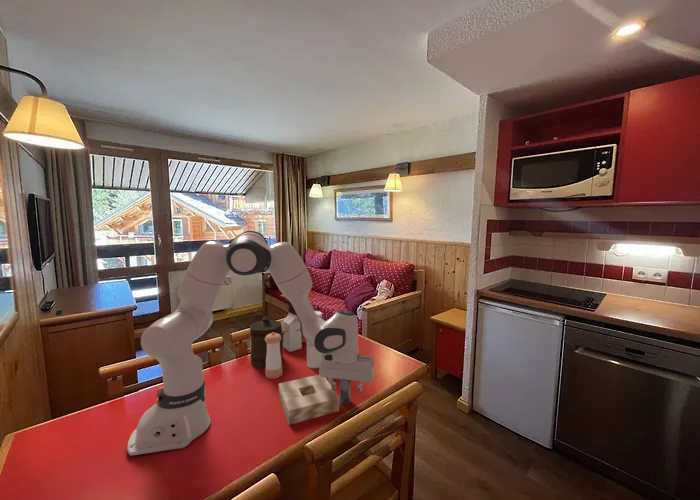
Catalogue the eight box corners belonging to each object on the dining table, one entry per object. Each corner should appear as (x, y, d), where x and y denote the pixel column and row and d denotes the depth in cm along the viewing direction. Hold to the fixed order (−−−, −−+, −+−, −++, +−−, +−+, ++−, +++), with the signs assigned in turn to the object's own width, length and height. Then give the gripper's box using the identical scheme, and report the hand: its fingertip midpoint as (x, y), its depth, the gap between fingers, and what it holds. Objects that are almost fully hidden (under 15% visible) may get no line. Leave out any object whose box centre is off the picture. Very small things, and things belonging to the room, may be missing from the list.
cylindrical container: (325, 364, 140) (325, 312, 138) (315, 370, 134) (315, 316, 132) (313, 360, 144) (313, 310, 142) (303, 366, 138) (303, 314, 136)
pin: (342, 406, 108) (342, 380, 107) (338, 400, 112) (338, 375, 111) (352, 403, 110) (352, 378, 109) (347, 397, 113) (348, 372, 112)
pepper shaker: (285, 374, 131) (284, 332, 129) (271, 380, 125) (270, 337, 123) (275, 368, 136) (274, 328, 134) (262, 375, 130) (260, 332, 128)
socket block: (289, 424, 98) (288, 410, 98) (278, 395, 115) (278, 383, 114) (339, 410, 105) (339, 397, 105) (323, 385, 122) (322, 373, 121)
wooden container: (264, 352, 153) (263, 310, 150) (288, 357, 147) (287, 314, 145) (243, 365, 139) (242, 319, 137) (269, 371, 133) (268, 324, 131)
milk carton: (289, 352, 152) (289, 316, 150) (283, 348, 157) (282, 313, 155) (301, 349, 156) (301, 314, 154) (295, 344, 162) (294, 311, 160)
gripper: (375, 352, 110) (375, 387, 111) (322, 348, 114) (323, 382, 115) (373, 360, 104) (373, 397, 105) (317, 355, 108) (318, 391, 109)
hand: (346, 389), depth 110 cm, fingers open, 8 cm apart
